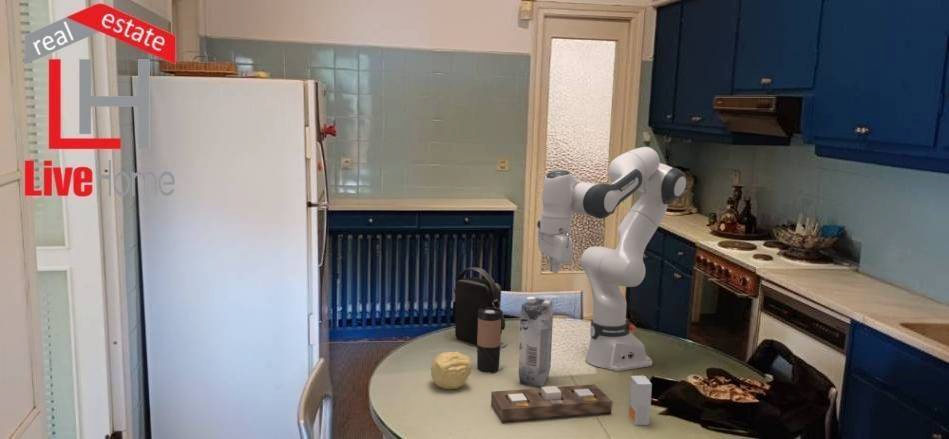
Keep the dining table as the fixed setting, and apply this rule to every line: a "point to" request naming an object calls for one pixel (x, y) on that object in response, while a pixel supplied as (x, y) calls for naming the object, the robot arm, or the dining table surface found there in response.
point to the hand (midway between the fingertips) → (553, 272)
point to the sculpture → (450, 370)
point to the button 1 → (517, 398)
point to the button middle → (550, 393)
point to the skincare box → (640, 400)
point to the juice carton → (535, 341)
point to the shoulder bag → (473, 305)
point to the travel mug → (488, 339)
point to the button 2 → (583, 393)
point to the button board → (550, 405)
